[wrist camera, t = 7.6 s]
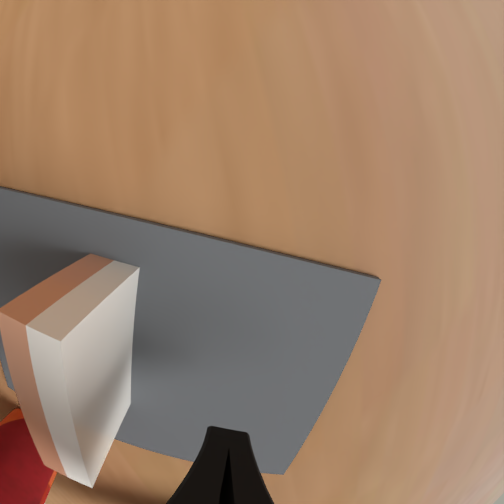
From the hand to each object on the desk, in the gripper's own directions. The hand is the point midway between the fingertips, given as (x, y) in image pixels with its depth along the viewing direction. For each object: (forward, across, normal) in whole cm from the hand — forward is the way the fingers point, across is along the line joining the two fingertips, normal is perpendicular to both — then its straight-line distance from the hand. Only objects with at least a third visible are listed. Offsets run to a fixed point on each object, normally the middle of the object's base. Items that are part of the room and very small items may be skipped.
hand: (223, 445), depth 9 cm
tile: (+4, +6, 0) cm, 7 cm away
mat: (+5, +5, +1) cm, 7 cm away
